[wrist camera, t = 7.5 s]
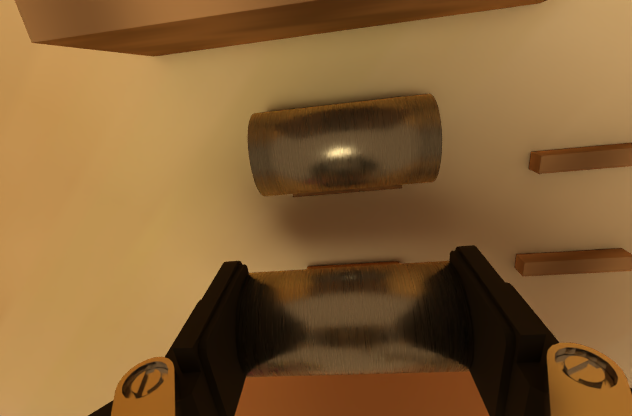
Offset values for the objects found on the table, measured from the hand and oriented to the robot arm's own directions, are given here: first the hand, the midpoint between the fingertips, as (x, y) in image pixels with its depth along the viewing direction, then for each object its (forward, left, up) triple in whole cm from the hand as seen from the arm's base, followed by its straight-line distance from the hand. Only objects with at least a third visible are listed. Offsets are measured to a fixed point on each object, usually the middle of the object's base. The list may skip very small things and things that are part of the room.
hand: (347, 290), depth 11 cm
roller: (0, 0, -1) cm, 1 cm away
